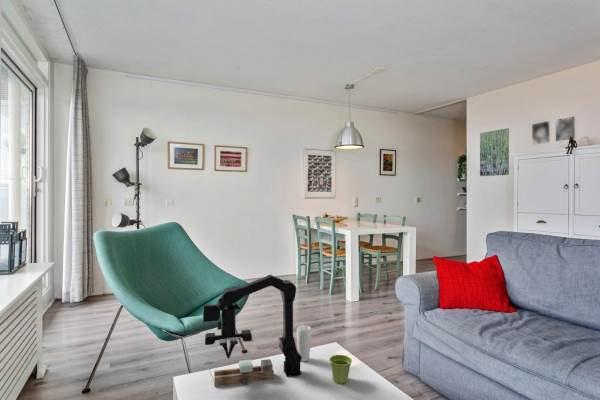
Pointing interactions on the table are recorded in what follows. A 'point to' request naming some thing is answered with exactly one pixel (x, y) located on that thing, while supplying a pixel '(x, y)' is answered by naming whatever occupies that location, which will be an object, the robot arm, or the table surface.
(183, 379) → the table surface
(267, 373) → the beam
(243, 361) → the block
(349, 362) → the plant pot
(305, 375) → the table surface
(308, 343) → the drinking glass
